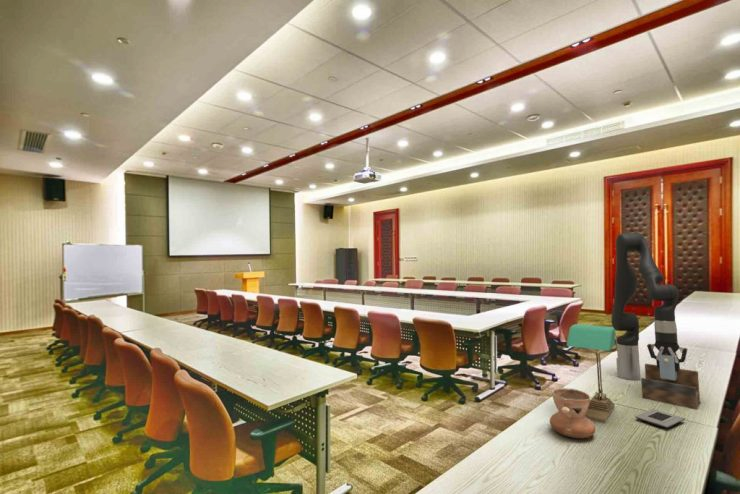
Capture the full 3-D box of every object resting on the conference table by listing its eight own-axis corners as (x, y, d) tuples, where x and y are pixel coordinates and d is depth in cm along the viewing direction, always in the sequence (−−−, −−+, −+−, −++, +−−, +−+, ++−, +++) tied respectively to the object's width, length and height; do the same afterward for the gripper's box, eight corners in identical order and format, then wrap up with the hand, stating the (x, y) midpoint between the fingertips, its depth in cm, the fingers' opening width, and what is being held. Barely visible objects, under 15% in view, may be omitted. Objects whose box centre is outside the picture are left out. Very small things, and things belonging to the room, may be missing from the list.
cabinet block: (659, 378, 157) (658, 355, 157) (662, 375, 161) (661, 352, 161) (674, 381, 153) (673, 357, 154) (677, 377, 157) (675, 354, 158)
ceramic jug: (590, 448, 120) (588, 405, 121) (543, 435, 130) (542, 395, 131) (600, 430, 134) (599, 390, 134) (557, 419, 143) (556, 382, 144)
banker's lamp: (625, 409, 149) (619, 324, 151) (615, 427, 134) (609, 332, 136) (582, 400, 160) (577, 320, 162) (568, 416, 145) (563, 328, 146)
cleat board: (642, 398, 160) (640, 368, 161) (647, 392, 167) (645, 363, 168) (696, 409, 147) (694, 377, 148) (700, 402, 154) (697, 371, 154)
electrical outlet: (667, 432, 130) (667, 425, 130) (635, 421, 139) (634, 415, 139) (685, 423, 136) (685, 417, 136) (653, 414, 145) (652, 407, 146)
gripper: (643, 330, 161) (646, 368, 160) (685, 333, 150) (688, 375, 150) (647, 327, 166) (649, 365, 165) (688, 331, 155) (691, 371, 155)
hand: (668, 369), depth 158 cm, fingers closed on cabinet block, 5 cm apart
